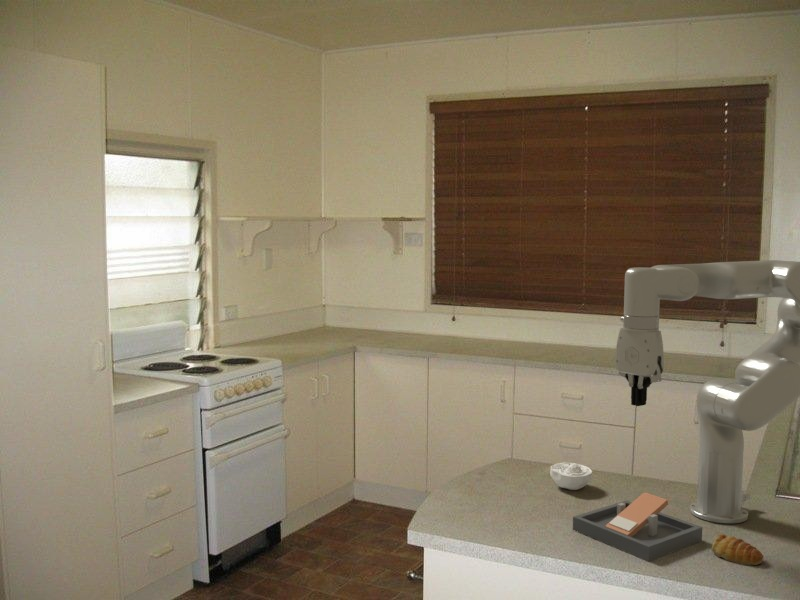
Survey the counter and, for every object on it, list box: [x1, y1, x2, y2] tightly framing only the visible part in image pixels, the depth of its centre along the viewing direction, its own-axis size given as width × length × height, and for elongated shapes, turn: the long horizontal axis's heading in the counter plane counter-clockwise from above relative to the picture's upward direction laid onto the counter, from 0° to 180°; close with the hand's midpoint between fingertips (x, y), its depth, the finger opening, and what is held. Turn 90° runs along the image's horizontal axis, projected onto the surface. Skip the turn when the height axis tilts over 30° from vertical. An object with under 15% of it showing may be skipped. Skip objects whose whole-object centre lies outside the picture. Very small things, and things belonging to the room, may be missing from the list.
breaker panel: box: [572, 500, 703, 562], centre depth 169 cm, size 18×20×6 cm
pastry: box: [711, 533, 764, 566], centre depth 158 cm, size 9×7×4 cm
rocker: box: [605, 491, 669, 537], centre depth 169 cm, size 14×7×2 cm, turn 125°
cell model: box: [549, 461, 594, 491], centre depth 201 cm, size 10×12×7 cm
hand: (638, 404), depth 175 cm, fingers closed
